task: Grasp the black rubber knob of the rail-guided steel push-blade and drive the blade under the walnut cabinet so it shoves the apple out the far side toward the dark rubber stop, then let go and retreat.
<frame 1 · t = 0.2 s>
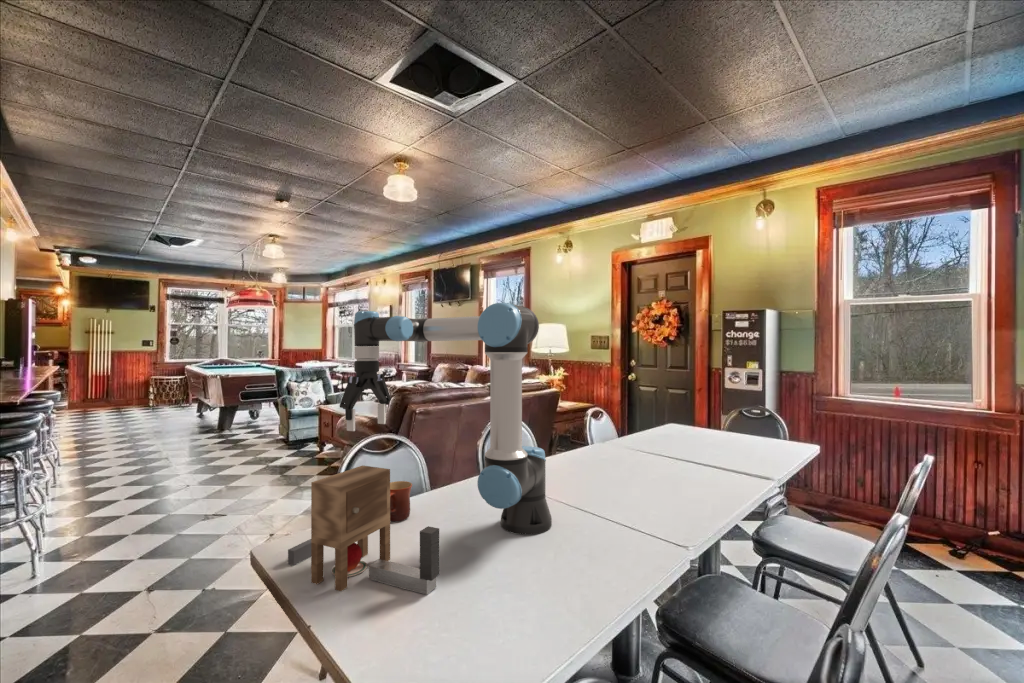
hand: (366, 427, 141), 28 cm above the table, fingers open, 13 cm apart
rubber stop: (304, 557, 113), on the table
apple: (349, 571, 106), on the table
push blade: (403, 553, 100), point 7 cm above the table, slide at 0.0 cm
cabinet: (352, 570, 106), on the table
mug: (395, 521, 137), on the table
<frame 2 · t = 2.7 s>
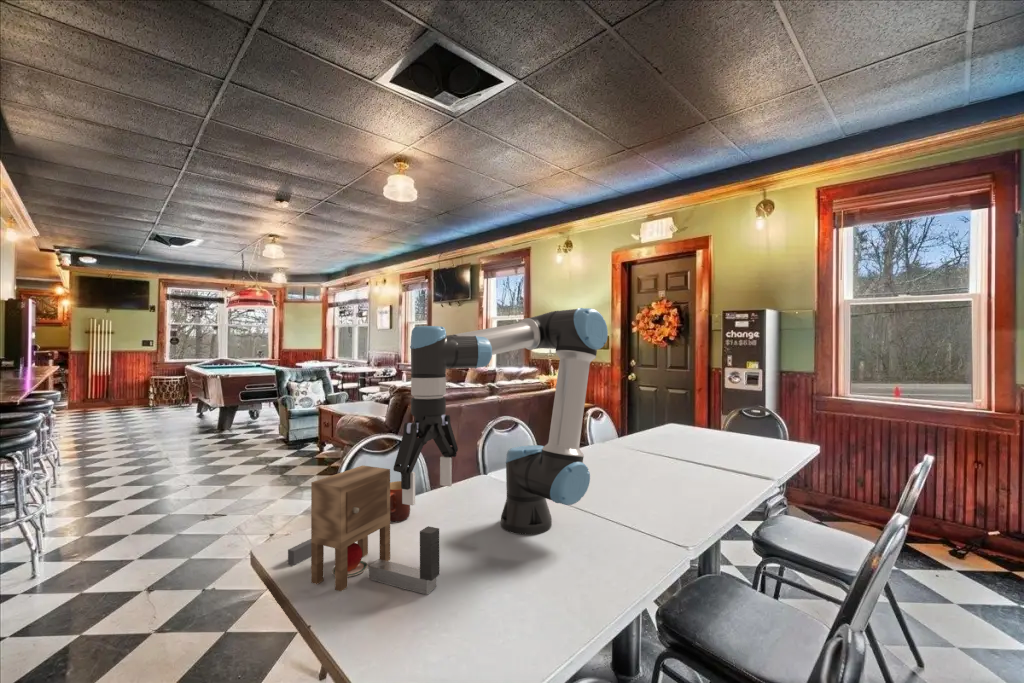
hand: (428, 494, 97), 21 cm above the table, fingers open, 13 cm apart
nothing on the table moved.
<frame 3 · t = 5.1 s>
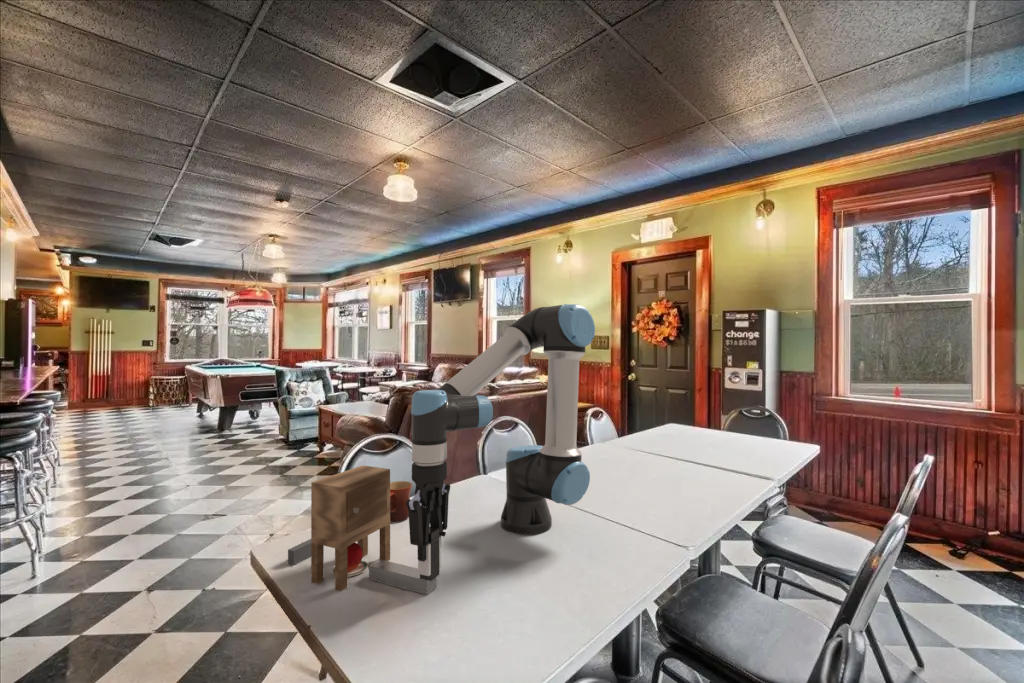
hand: (429, 569, 97), 5 cm above the table, fingers closed on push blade, 3 cm apart
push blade: (403, 553, 100), point 7 cm above the table, slide at 0.0 cm, touching gripper
everything else where it was.
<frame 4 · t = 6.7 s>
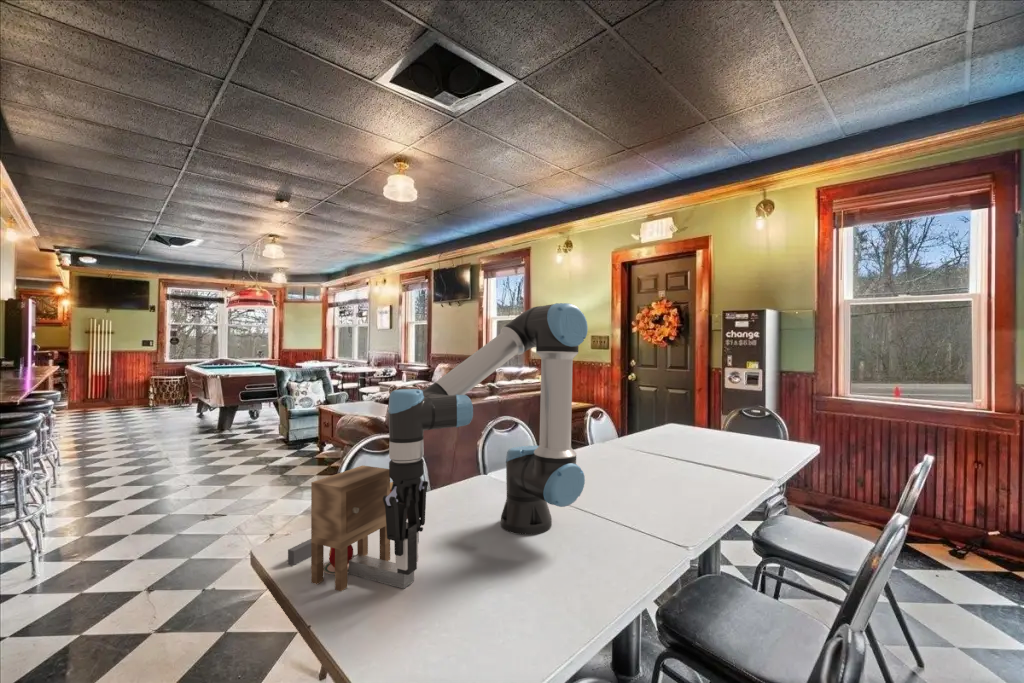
hand: (407, 564, 99), 5 cm above the table, fingers closed on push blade, 3 cm apart
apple: (341, 568, 107), on the table, touching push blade
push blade: (382, 549, 102), point 7 cm above the table, slide at 6.1 cm, touching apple, gripper
everything else where it was.
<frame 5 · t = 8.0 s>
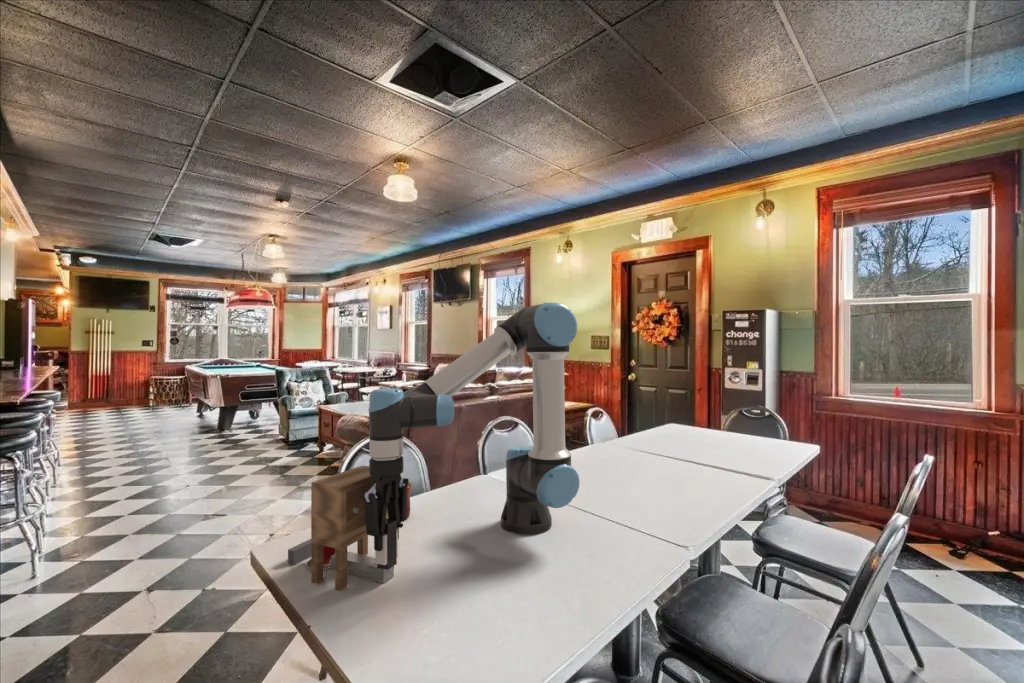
hand: (386, 559, 102), 5 cm above the table, fingers closed on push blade, 3 cm apart
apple: (324, 564, 110), on the table, touching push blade
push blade: (363, 544, 105), point 7 cm above the table, slide at 11.7 cm, touching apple, gripper
everything else where it was.
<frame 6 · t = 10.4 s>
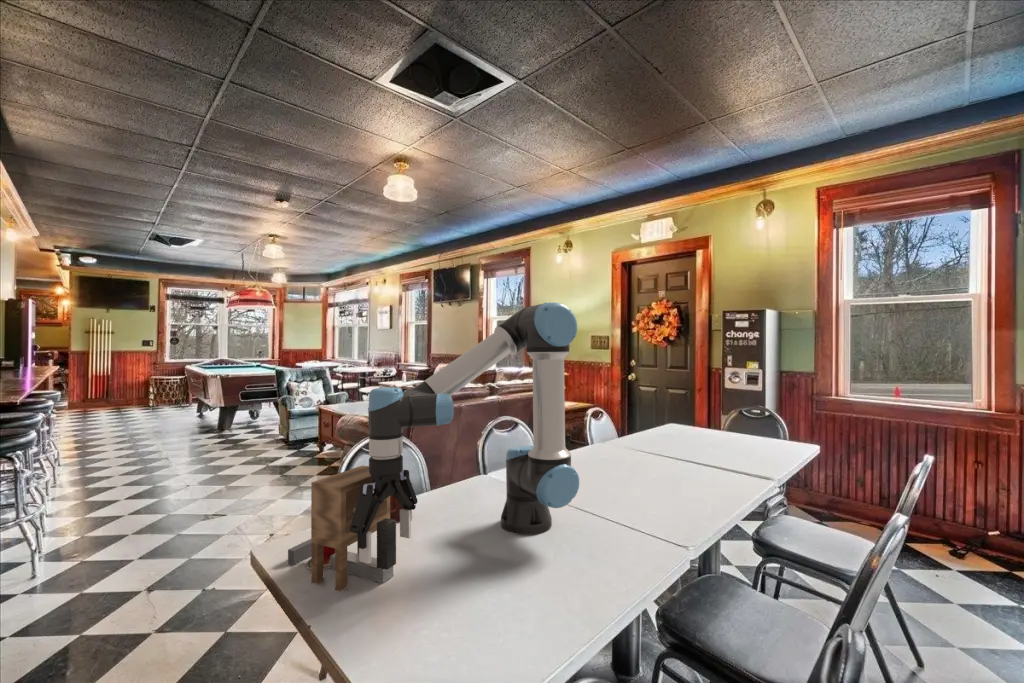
hand: (386, 548, 102), 7 cm above the table, fingers open, 13 cm apart
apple: (323, 564, 110), on the table
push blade: (362, 544, 105), point 7 cm above the table, slide at 11.9 cm
everything else where it was.
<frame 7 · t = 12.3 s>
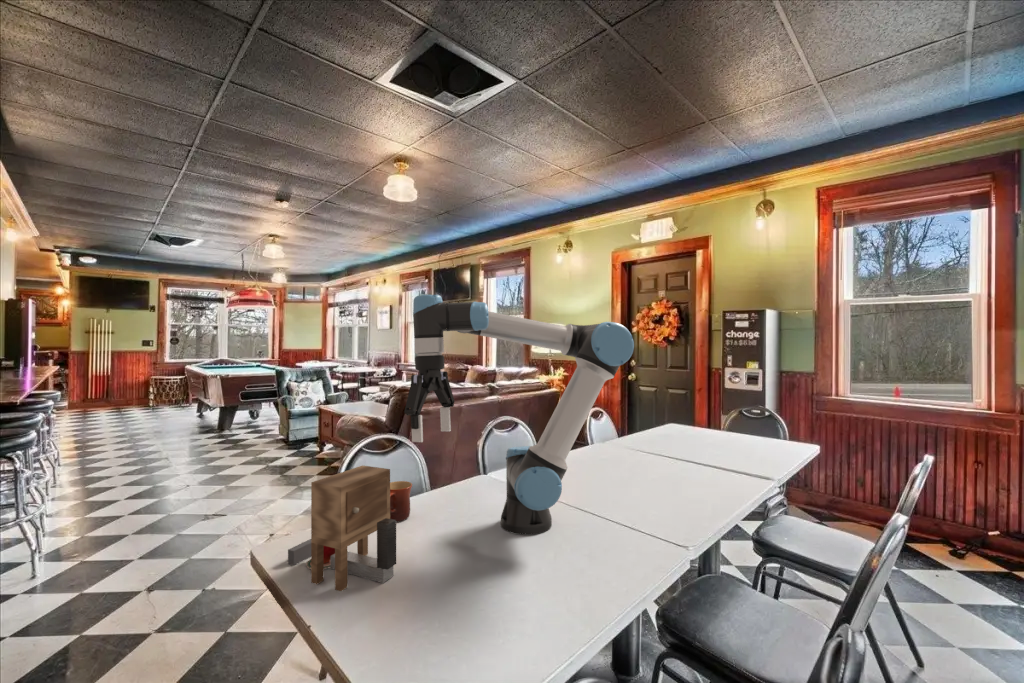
hand: (432, 436, 116), 30 cm above the table, fingers open, 13 cm apart
nothing on the table moved.
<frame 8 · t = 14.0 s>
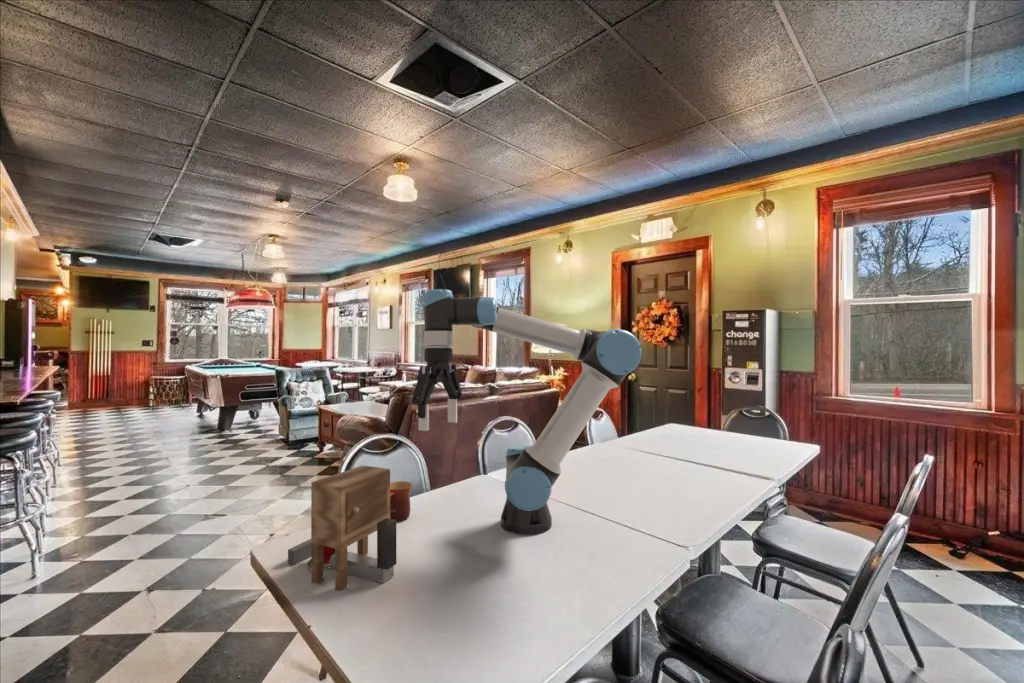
hand: (438, 426, 120), 32 cm above the table, fingers open, 13 cm apart
nothing on the table moved.
at the end: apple inside the target area (2.7 cm from its centre), on the table; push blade slide at 11.8 cm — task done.
